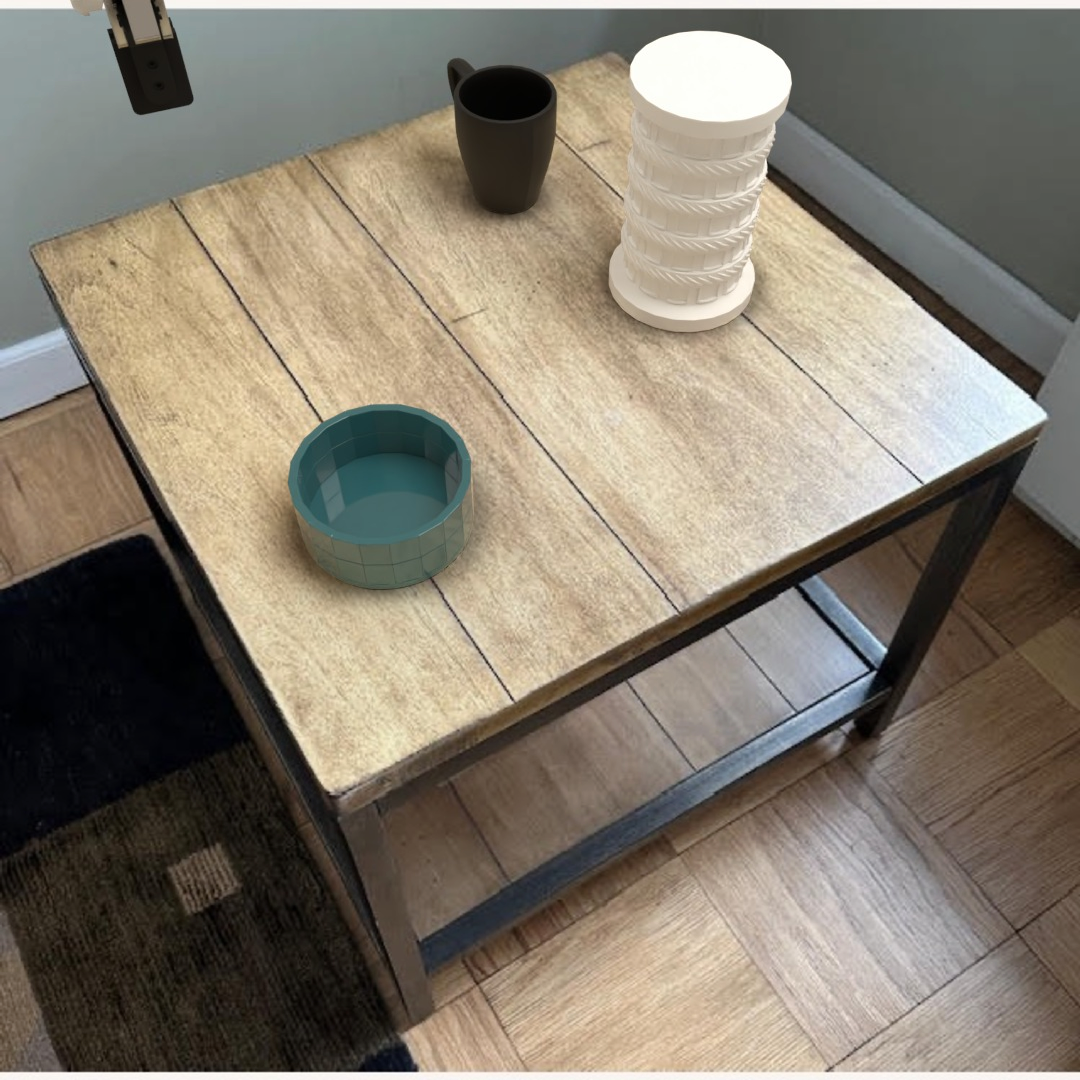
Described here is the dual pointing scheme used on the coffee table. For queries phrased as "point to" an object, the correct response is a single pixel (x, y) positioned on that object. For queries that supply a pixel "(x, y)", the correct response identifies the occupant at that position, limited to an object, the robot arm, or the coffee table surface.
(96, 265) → the coffee table surface
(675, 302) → the decorative container
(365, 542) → the bowl
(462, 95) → the mug
